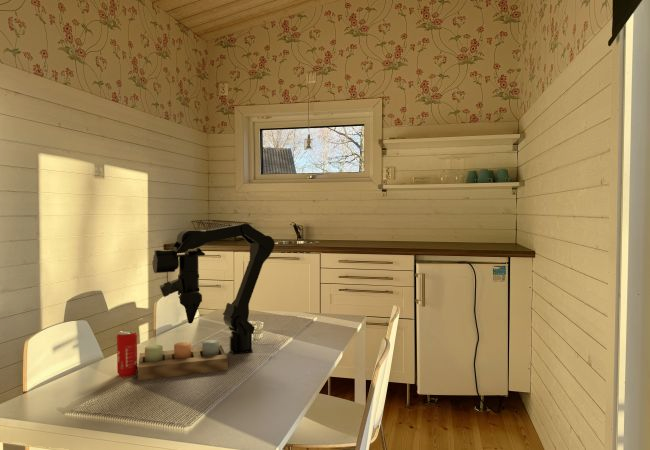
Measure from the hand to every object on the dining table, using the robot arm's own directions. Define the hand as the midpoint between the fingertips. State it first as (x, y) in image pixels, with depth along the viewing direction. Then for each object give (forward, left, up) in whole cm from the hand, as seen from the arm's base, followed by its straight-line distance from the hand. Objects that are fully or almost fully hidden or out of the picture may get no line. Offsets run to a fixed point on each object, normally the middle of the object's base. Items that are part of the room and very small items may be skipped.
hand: (189, 321), depth 146 cm
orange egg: (+3, +7, -9) cm, 12 cm away
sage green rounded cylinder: (-5, +7, -9) cm, 13 cm away
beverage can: (+18, +8, -12) cm, 23 cm away
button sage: (+11, +7, -9) cm, 16 cm away
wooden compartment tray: (+3, +7, -12) cm, 14 cm away
